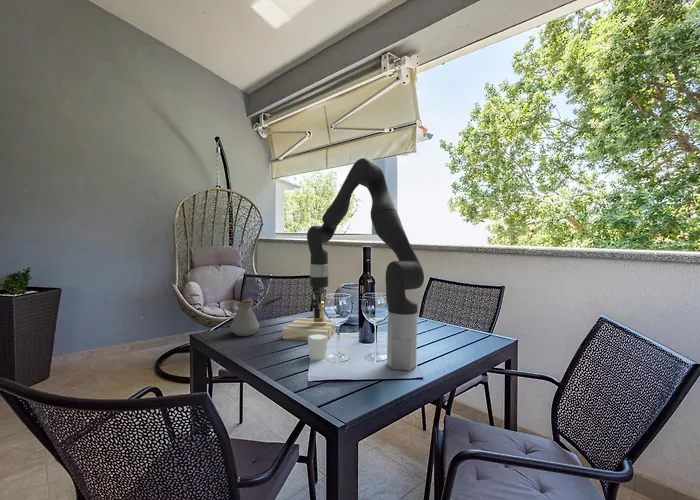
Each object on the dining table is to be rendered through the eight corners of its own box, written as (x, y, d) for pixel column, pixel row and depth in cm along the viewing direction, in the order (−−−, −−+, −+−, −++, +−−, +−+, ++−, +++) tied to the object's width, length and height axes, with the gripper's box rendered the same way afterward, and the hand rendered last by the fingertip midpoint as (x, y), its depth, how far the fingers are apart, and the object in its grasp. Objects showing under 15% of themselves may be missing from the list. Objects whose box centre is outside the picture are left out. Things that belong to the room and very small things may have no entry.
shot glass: (309, 361, 113) (309, 340, 113) (305, 354, 120) (306, 334, 120) (329, 359, 115) (329, 338, 115) (325, 352, 122) (325, 332, 121)
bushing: (323, 323, 140) (323, 303, 139) (309, 322, 141) (309, 302, 141) (327, 319, 146) (327, 300, 145) (314, 318, 147) (314, 299, 146)
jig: (326, 342, 133) (327, 331, 133) (282, 338, 137) (282, 328, 137) (337, 329, 151) (337, 320, 151) (298, 326, 155) (298, 317, 154)
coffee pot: (227, 338, 137) (227, 300, 136) (232, 330, 148) (232, 295, 147) (283, 336, 140) (283, 299, 140) (283, 328, 152) (284, 294, 151)
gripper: (323, 277, 135) (322, 321, 135) (332, 273, 148) (331, 313, 149) (304, 276, 136) (304, 320, 137) (315, 272, 150) (315, 312, 151)
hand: (318, 316), depth 143 cm, fingers closed on bushing, 4 cm apart
